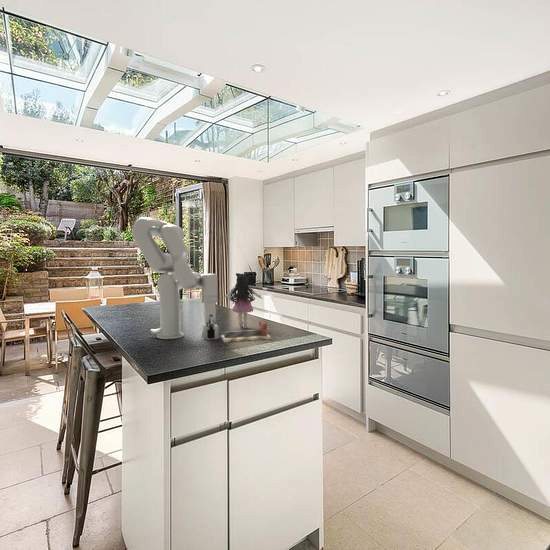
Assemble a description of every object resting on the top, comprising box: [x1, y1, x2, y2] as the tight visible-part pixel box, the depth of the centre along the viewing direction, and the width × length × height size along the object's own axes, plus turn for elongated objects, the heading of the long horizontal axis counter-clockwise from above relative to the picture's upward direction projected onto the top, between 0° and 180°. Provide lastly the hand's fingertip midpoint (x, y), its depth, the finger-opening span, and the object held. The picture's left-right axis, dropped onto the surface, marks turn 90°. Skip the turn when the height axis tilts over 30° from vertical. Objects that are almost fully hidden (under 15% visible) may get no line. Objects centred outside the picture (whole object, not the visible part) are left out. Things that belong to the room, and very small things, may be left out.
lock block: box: [201, 323, 219, 341], centre depth 176 cm, size 7×6×6 cm
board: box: [220, 320, 272, 343], centre depth 175 cm, size 22×10×7 cm, turn 107°
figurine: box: [223, 272, 264, 329], centre depth 199 cm, size 22×10×30 cm, turn 84°
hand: (210, 336), depth 176 cm, fingers open, 6 cm apart
